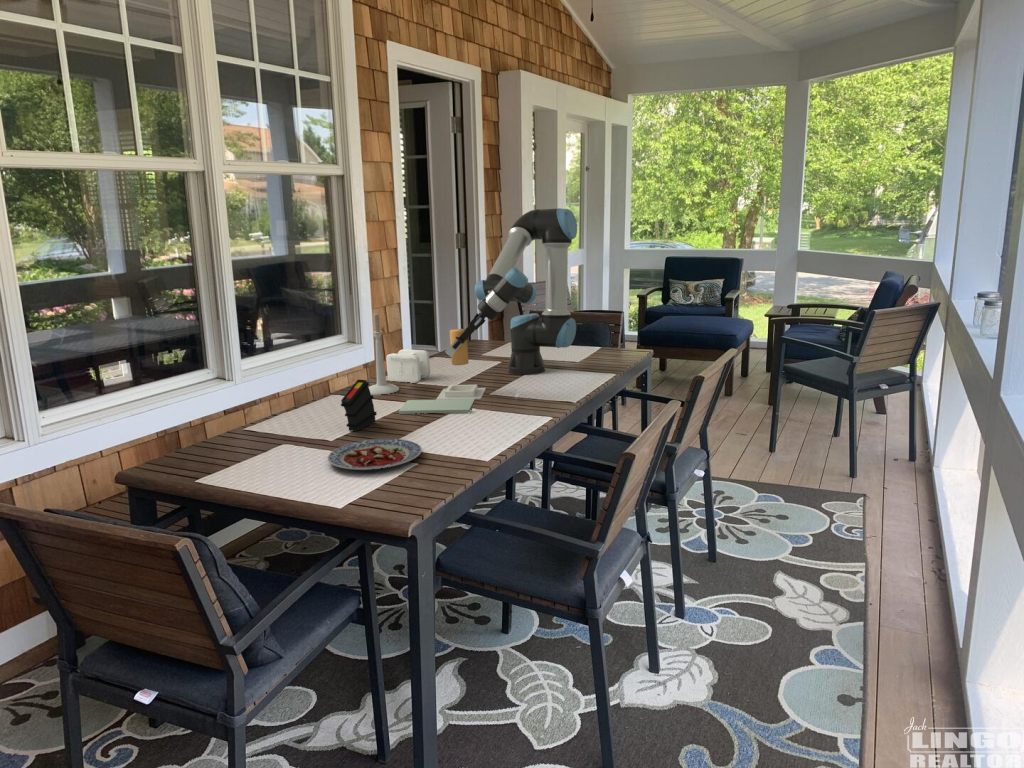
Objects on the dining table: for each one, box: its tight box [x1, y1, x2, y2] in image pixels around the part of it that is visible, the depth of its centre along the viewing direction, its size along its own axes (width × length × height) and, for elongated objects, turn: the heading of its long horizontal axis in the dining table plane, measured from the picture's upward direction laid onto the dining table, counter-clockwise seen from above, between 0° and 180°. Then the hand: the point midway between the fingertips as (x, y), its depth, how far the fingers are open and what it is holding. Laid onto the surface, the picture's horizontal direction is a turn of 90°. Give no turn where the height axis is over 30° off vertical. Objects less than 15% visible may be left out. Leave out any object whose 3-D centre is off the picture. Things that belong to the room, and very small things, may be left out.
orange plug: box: [449, 328, 469, 366], centre depth 275 cm, size 6×6×12 cm
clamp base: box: [435, 384, 487, 400], centre depth 279 cm, size 16×16×3 cm
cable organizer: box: [385, 348, 431, 384], centre depth 306 cm, size 15×11×12 cm
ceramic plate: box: [327, 438, 423, 471], centre depth 213 cm, size 26×26×3 cm
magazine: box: [340, 379, 377, 432], centre depth 244 cm, size 4×13×15 cm, turn 155°
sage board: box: [398, 399, 476, 415], centre depth 264 cm, size 24×14×1 cm, turn 85°
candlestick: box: [368, 313, 400, 396], centre depth 288 cm, size 13×13×30 cm
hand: (449, 352), depth 276 cm, fingers closed on orange plug, 6 cm apart
